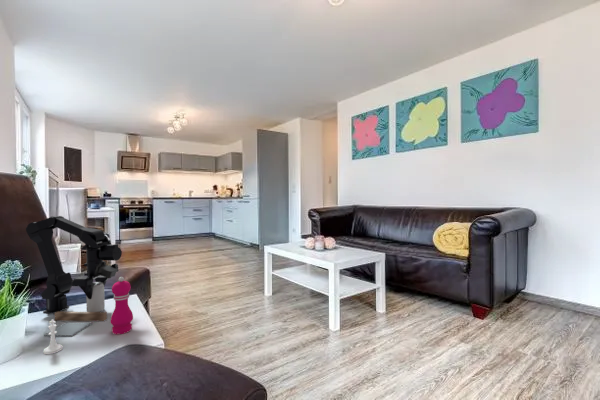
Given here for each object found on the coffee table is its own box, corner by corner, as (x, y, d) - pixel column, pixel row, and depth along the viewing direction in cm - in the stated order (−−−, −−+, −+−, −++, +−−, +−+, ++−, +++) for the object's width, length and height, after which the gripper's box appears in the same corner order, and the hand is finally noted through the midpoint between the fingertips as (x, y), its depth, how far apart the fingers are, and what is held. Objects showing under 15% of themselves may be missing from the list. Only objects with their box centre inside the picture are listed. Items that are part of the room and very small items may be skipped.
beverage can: (95, 315, 125) (95, 286, 125) (82, 313, 126) (82, 285, 126) (108, 309, 131) (107, 281, 131) (95, 307, 133) (95, 280, 132)
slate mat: (44, 336, 107) (44, 334, 107) (66, 323, 117) (66, 322, 117) (71, 336, 107) (71, 335, 107) (91, 324, 117) (91, 322, 117)
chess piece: (50, 346, 100) (49, 316, 100) (66, 345, 100) (65, 316, 100) (39, 354, 95) (38, 323, 95) (55, 353, 96) (54, 322, 95)
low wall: (54, 320, 120) (54, 313, 120) (58, 318, 122) (57, 311, 121) (104, 321, 119) (104, 313, 119) (106, 319, 121) (106, 312, 121)
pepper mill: (109, 336, 107) (108, 280, 106) (111, 328, 113) (110, 275, 112) (133, 332, 110) (132, 278, 109) (133, 324, 116) (132, 273, 116)
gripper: (98, 265, 119) (99, 304, 119) (126, 255, 137) (127, 289, 138) (70, 265, 119) (71, 304, 120) (102, 255, 138) (103, 289, 138)
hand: (95, 296), depth 129 cm, fingers closed on beverage can, 6 cm apart
